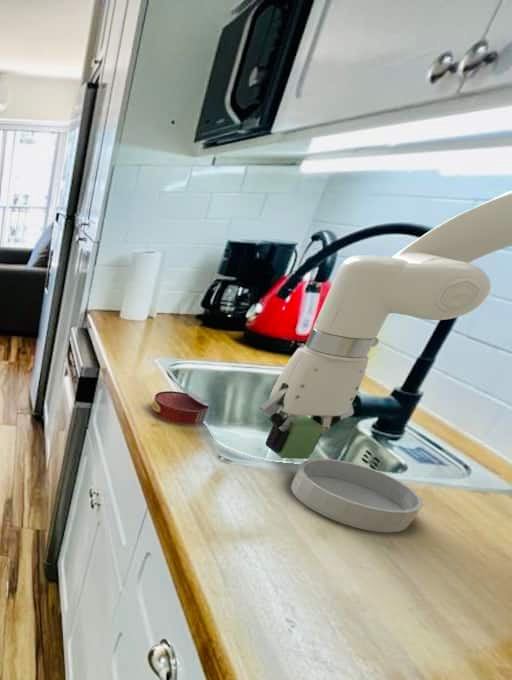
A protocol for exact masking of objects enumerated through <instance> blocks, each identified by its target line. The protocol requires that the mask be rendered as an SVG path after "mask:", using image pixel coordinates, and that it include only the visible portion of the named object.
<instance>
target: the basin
mask: <svg viewBox="0 0 512 680" xmlns="http://www.w3.org/2000/svg"><path fill="white" fill-rule="evenodd" d="M290 489H291V492H292V494H293V495H294V497H295V498H297V500H298V501H299V502H301V503H302V504H304V506H306V507H308V508H309V509H311V510H312V511H314V512H316V513H318V514H319V515H322V516H323V517H326V518H327V519H328V518H329V519H330V520H333V521H334V522H338V523H341V524H344V525H346V526H349V527H352V528H356V529H362V530H365V531H370V532H376V533H398V532H402V531H404V530H406V529H408V527H409V526H410V525H411V524H412V522H413V521H414V519H415V518H416V517H417V515H418V514H419V513H420V511H421V509H422V508H423V506H424V502H423V499H422V497H421V495H420V494H419V493H418V492H416V490H414V489H413V488H412V487H411V486H409V485H407V483H404V482H403V481H401V480H399V479H398V478H396V477H393V476H391V475H389V474H387V473H384V472H382V471H379V470H377V469H374V468H371V467H368V466H364V465H361V464H357V463H354V462H350V461H345V460H338V459H333V458H314V459H313V458H312V459H306V460H305V461H303V462H302V463H300V465H299V467H298V469H297V470H296V472H295V475H294V477H293V480H292V482H291V485H290Z"/></svg>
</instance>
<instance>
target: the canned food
mask: <svg viewBox="0 0 512 680" xmlns="http://www.w3.org/2000/svg"><path fill="white" fill-rule="evenodd" d="M165 372H166V374H167V376H168V377H169V378H170V380H172V381H173V382H174V383H175V385H177V386H178V387H179V388H180V390H182V391H183V392H182V391H172V390H171V391H170V390H168V391H166V390H164V391H160V392H157V393H156V394H155V395H154V399H153V402H152V404H151V405H152V406H151V408H150V409H151V412H152V414H153V415H154V416H156V417H157V418H159V419H161V420H164V421H167V422H169V423H173V424H174V423H175V424H178V425H184V426H193V425H195V426H196V425H200V424H202V423H204V421H205V418H206V415H207V412H208V410H209V408H210V404H209V403H208V402H207V401H206V400H205V399H203V398H201V397H200V396H198V395H197V394H195V393H193V392H192V391H190V390H189V389H187V388H185V387H183V386H182V385H180V384H179V383H178V382H177V381H176V380H175V379H174V378H173V376H172V375H171V374H170V373H169V372H168V370H165Z"/></svg>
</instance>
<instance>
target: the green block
mask: <svg viewBox="0 0 512 680" xmlns="http://www.w3.org/2000/svg"><path fill="white" fill-rule="evenodd" d="M286 416H287V415H286V414H285V416H284V417H283V420H284V419H285V417H286ZM323 429H324V426H322V425H320V424H319V423H317V422H316V421H314V420H313V419H311V417H309V416H308V415H298V416H297V417H296V419H295V420H294V421H293V423H292V424H291V425H290V427H289V428H288V429H287V431H289V432H290V433H289V435H288V438H287V440H286V442H285V444H284V446H283V448H282V450H281V452H279V453H278V452H274V451H273V450H272V449H271V448H269V447H268V446H267V445H266V444H265V446H266V447H267V448H269V450H271V451H272V452H274V453H275V454H276V455H277V456H278V457H280V458H281V459H298V460H299V459H300V460H310V459H309V458H310V457H311V455H312V454H313V452H314V450H315V448H316V446H317V444H318V443H317V441H318V439H319V437H320V435H321V433H322V431H323ZM322 434H323V433H322ZM321 436H322V435H321ZM320 438H321V437H320ZM319 440H320V439H319ZM318 442H319V441H318ZM316 443H317V444H316ZM315 445H316V446H315ZM314 447H315V448H314ZM313 449H314V450H313ZM312 451H313V452H312ZM311 453H312V454H311Z"/></svg>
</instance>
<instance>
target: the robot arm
mask: <svg viewBox="0 0 512 680" xmlns="http://www.w3.org/2000/svg"><path fill="white" fill-rule="evenodd" d="M509 247H512V189H511V190H509V191H507V192H504V193H503V194H500V195H498V196H496V197H493V198H492V199H489V200H487V201H485V202H482V203H480V204H479V205H476V206H474V207H472V208H470V209H467V210H464V211H463V212H461V213H459V214H456V215H455V216H453V217H451V218H449V219H447V220H445V221H443V222H442V223H440V224H438V225H437V226H435V227H433V228H432V229H430V230H429V231H427V232H426V233H424V234H423V235H421V236H419V237H418V238H417V239H415V240H414V241H411V243H410V244H408V245H406V246H405V247H404V248H402V249H401V250H399V251H398V252H396V253H395V254H394V255H393V256H384V255H372V254H371V255H370V254H359V255H357V254H356V255H352V256H349V257H347V258H346V259H344V261H342V263H341V264H340V265H339V268H338V269H337V271H336V274H335V276H334V279H333V281H332V283H331V285H330V288H329V290H328V292H327V294H326V296H325V298H324V300H323V304H322V305H321V307H320V311H319V312H318V315H317V317H316V319H315V322H314V324H313V327H312V328H311V331H310V333H309V335H308V338H307V340H306V342H305V344H304V346H303V347H297V348H296V350H295V352H294V353H293V354H292V356H291V357H290V358H289V359H288V361H287V363H285V366H284V368H283V369H282V371H281V373H280V374H279V376H278V378H277V380H276V382H275V384H274V386H273V388H272V390H271V392H270V395H269V397H268V399H267V400H266V401H265V402H263V403H262V404H261V405H260V406H259V410H260V411H261V412H262V413H263V414H264V415H266V417H267V418H268V419H269V422H270V424H271V425H272V427H271V429H270V431H269V433H268V436H267V438H266V440H265V446H266V445H267V446H268V447H267V446H266V447H267V448H269V449H270V448H271V449H272V450H273V451H272V450H271V449H270V450H271V451H272V452H274V453H275V452H278V453H279V452H281V450H282V448H283V446H284V444H285V442H286V440H287V438H288V435H289V433H290V432H289V431H287V429H288V428H289V427H290V425H291V424H292V423H293V421H294V420H295V419H296V417H297V416H298V415H306V416H308V417H309V416H310V418H311V419H313V420H314V421H316V422H317V423H319V424H320V425H322V426H324V429H323V431H322V433H321V435H320V437H319V439H318V441H317V443H316V445H315V447H314V449H313V451H312V453H311V455H312V454H313V453H314V450H315V448H316V446H317V444H318V443H319V441H320V439H321V437H322V435H323V434H325V433H328V432H329V430H330V428H331V427H333V426H335V425H337V424H338V423H339V422H340V421H342V420H344V419H347V418H349V417H352V416H353V415H354V414H355V410H354V406H353V402H354V400H355V399H356V396H357V394H358V392H359V389H360V387H361V385H362V382H363V379H364V376H365V374H366V371H367V367H368V363H369V358H370V357H369V356H368V355H369V353H370V351H371V349H372V347H377V346H378V344H379V338H377V337H378V335H379V333H380V332H381V329H382V327H383V325H384V324H385V322H386V320H387V318H388V316H389V315H390V314H397V315H402V316H407V317H412V318H416V319H422V320H426V321H427V320H430V321H443V320H445V321H446V320H452V319H456V318H459V317H462V316H465V315H467V314H469V313H471V312H473V311H474V310H475V309H477V308H478V307H479V306H481V305H482V304H483V303H484V302H485V301H486V299H487V298H488V296H489V294H490V291H491V280H490V277H489V275H488V274H487V273H486V272H485V271H484V270H483V269H482V268H480V267H479V266H477V265H475V264H472V262H474V261H476V260H478V259H480V258H482V257H484V256H487V255H489V254H493V253H495V252H498V251H501V250H504V249H506V248H509ZM279 406H280V407H279ZM278 407H279V408H278ZM277 408H278V410H276V409H277ZM285 415H287V416H286V417H285V419H284V420H283V417H284V416H285Z"/></svg>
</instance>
